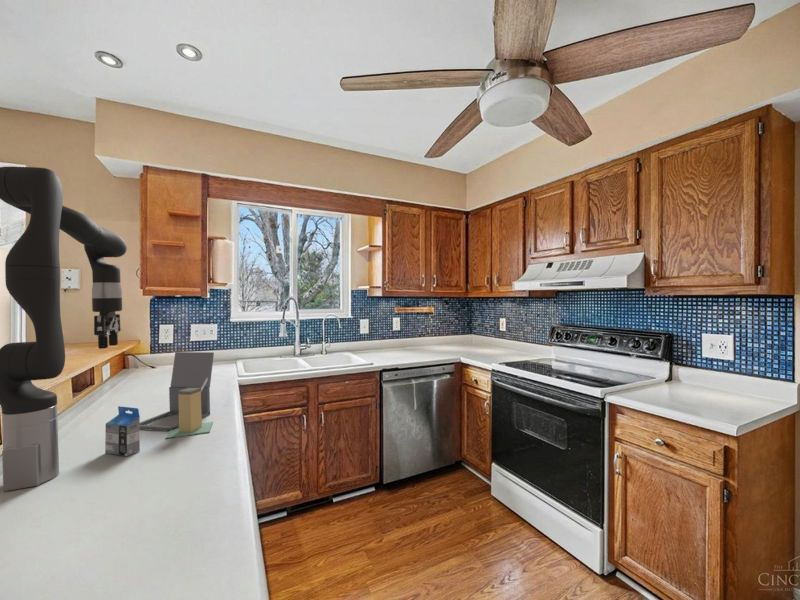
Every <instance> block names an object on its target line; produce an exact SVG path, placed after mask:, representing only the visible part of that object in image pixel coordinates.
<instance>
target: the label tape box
mask: <svg viewBox="0 0 800 600" xmlns="http://www.w3.org/2000/svg"><path fill="white" fill-rule="evenodd" d="M117 409H118V414H117V415H116V416H114V417H113V418H112V419H110V420H109V421H107V422H106V423H105V439H104V440H105V445H104V453H105V454H110V455H117V456H124V457H129V456H132V455H135V454H137V453H139V452H140V451H141V447H140V446H141V445H140V444H141V442H140V441H141V439H140V436H141V434H140V431H141V429H140V421H141V418H140V410H139V408H137V407H129V406H119V405H118V407H117ZM129 412H130V413H129ZM131 412H132V413H131ZM138 451H139V452H138ZM136 452H137V453H136ZM134 453H135V454H134Z"/></svg>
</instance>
